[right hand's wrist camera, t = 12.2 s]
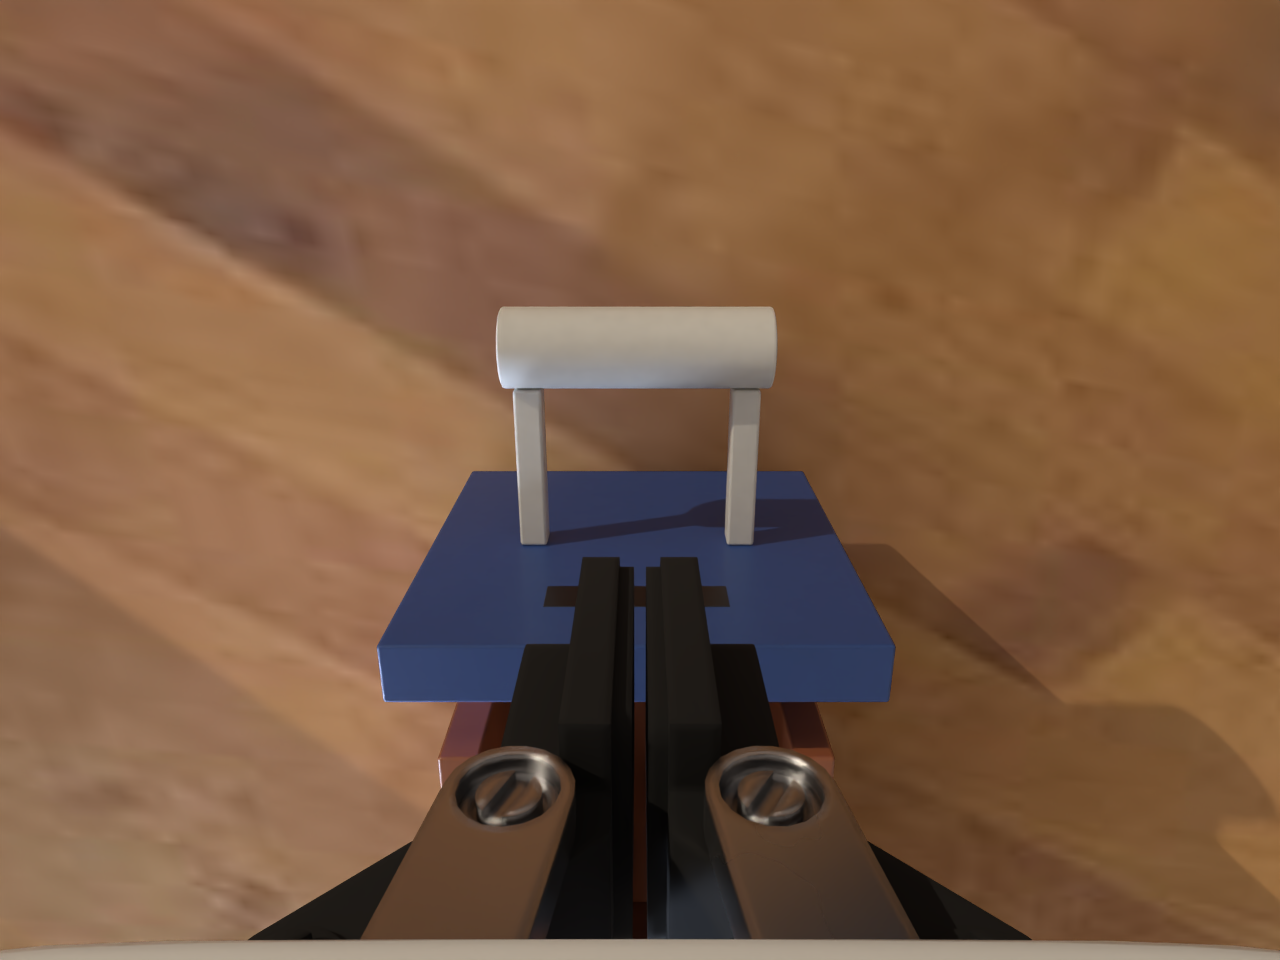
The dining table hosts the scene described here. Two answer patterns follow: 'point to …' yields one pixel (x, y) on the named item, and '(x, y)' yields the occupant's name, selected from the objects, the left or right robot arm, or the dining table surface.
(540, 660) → the right robot arm
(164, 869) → the dining table surface
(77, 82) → the dining table surface
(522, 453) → the drawer
